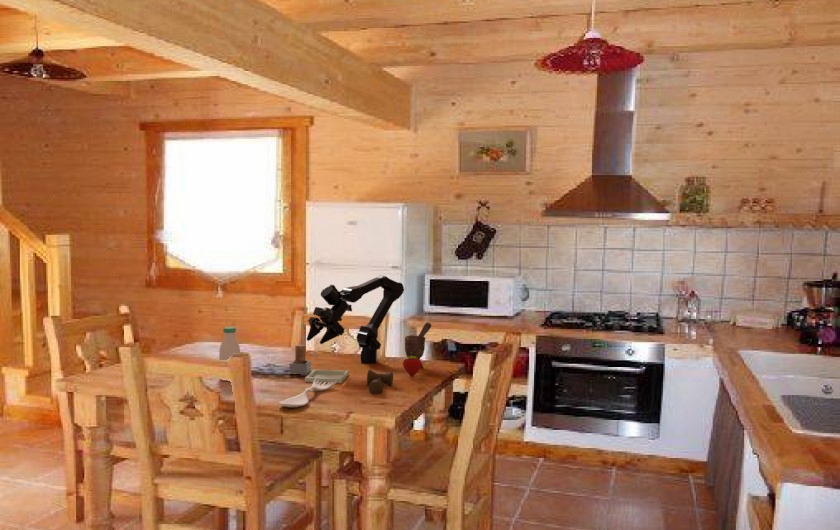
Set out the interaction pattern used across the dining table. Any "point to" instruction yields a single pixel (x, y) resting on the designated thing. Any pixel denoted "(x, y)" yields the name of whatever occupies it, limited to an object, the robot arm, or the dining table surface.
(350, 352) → the dining table surface
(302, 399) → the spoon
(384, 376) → the kendama
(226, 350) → the milk bottle
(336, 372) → the sage tray
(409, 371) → the strawberry
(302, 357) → the walnut dowel
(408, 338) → the mortar and pestle
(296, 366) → the stoneware holder
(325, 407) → the dining table surface
